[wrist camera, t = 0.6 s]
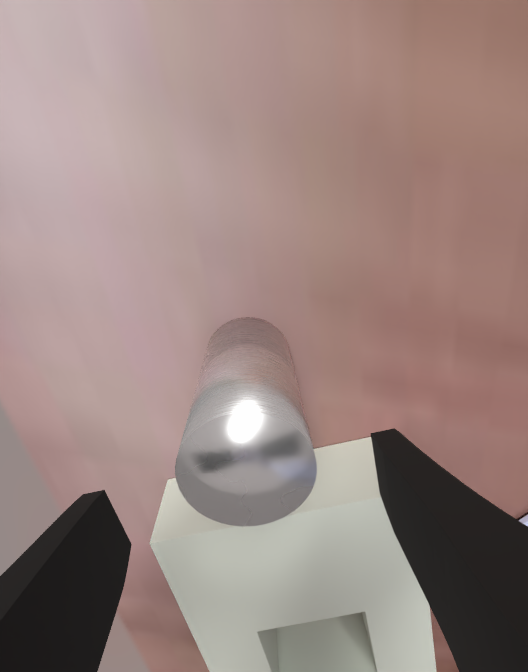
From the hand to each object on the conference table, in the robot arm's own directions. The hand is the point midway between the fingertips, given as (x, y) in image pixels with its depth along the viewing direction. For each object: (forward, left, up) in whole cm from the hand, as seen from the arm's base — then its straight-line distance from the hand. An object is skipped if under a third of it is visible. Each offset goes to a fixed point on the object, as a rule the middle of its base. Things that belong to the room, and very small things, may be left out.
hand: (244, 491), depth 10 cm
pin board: (-14, +8, -9) cm, 18 cm away
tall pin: (0, 0, -9) cm, 9 cm away
